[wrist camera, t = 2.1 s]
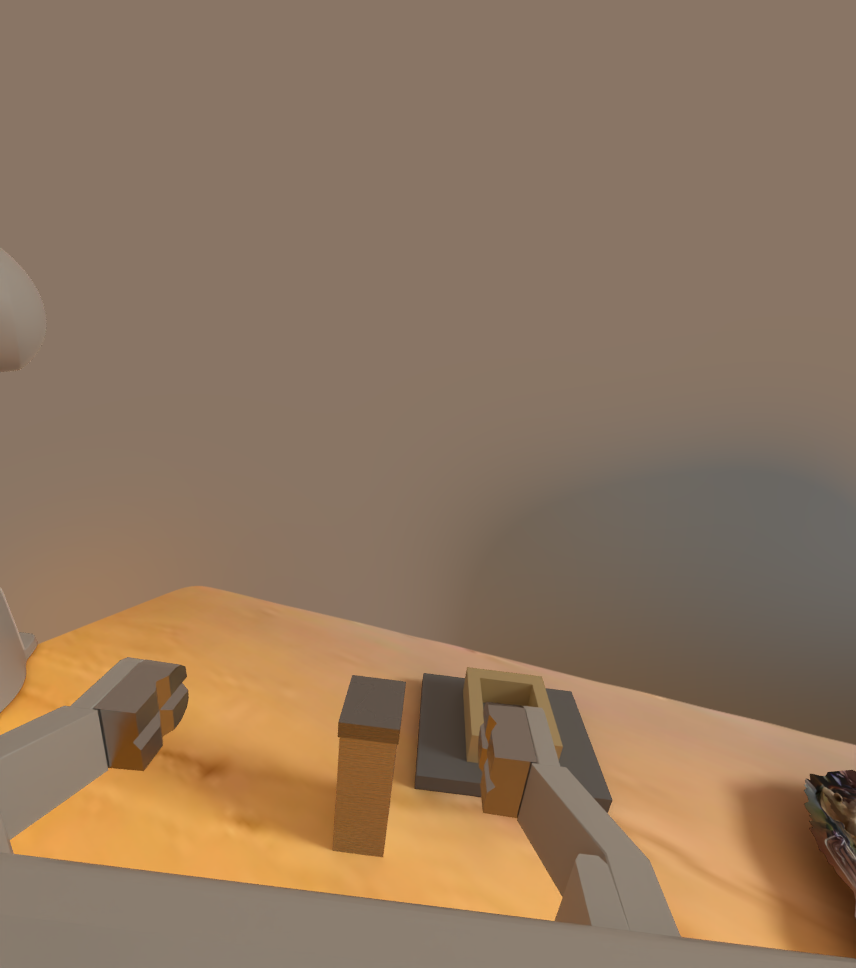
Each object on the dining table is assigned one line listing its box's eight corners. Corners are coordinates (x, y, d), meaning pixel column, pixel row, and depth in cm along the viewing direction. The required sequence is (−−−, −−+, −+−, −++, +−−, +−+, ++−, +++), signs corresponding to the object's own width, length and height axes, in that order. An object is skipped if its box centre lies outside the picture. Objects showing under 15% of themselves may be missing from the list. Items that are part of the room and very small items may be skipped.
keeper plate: (414, 788, 33) (420, 747, 31) (422, 684, 43) (426, 650, 42) (607, 812, 33) (622, 773, 31) (568, 702, 43) (577, 669, 42)
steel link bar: (330, 852, 28) (338, 722, 24) (344, 795, 32) (352, 675, 28) (384, 859, 28) (399, 729, 24) (391, 801, 32) (405, 681, 28)
